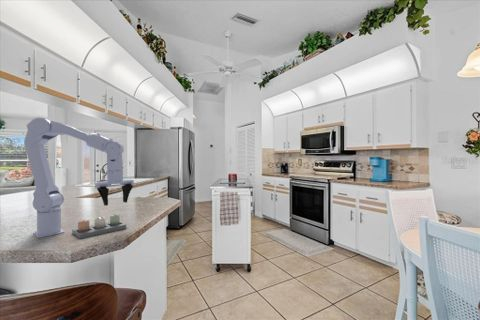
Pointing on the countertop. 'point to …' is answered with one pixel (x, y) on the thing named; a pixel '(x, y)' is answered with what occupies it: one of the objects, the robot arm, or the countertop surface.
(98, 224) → the cream button
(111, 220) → the sage button
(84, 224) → the terracotta button
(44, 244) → the countertop surface
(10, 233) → the countertop surface
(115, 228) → the button board
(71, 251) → the countertop surface
